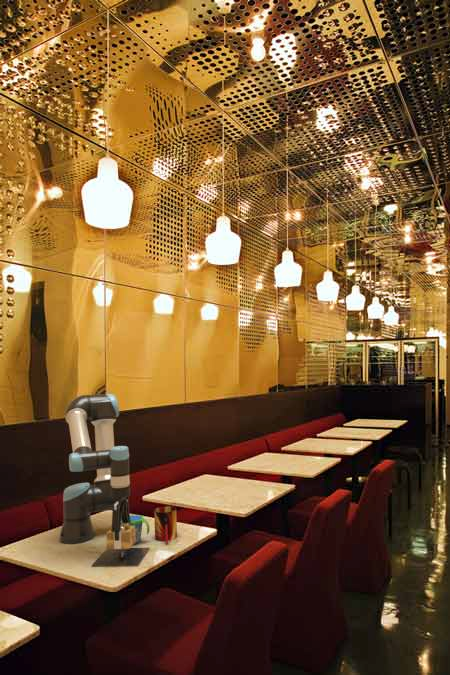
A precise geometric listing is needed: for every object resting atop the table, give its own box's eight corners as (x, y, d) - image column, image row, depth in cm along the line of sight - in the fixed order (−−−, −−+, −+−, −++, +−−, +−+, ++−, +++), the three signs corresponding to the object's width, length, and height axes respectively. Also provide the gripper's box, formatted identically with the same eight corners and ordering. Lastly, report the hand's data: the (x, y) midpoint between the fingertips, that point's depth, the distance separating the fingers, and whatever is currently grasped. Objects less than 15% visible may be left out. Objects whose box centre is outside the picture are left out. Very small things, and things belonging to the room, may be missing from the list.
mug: (166, 545, 197) (165, 516, 198) (151, 537, 208) (150, 509, 209) (186, 540, 202) (185, 511, 203) (170, 532, 213) (169, 505, 215)
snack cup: (109, 546, 199) (108, 521, 200) (120, 538, 209) (119, 514, 210) (143, 547, 195) (143, 522, 196) (153, 538, 206) (152, 515, 207)
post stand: (107, 549, 195) (106, 519, 196) (149, 548, 193) (149, 518, 195) (91, 566, 177) (90, 533, 178) (138, 566, 176) (137, 532, 177)
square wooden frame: (114, 541, 190) (113, 526, 191) (136, 540, 190) (135, 525, 190) (106, 549, 181) (106, 533, 182) (129, 548, 181) (129, 532, 181)
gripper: (119, 480, 199) (120, 535, 197) (101, 492, 177) (103, 554, 175) (136, 480, 198) (138, 535, 196) (121, 492, 177) (122, 554, 174)
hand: (121, 544), depth 186 cm, fingers closed on square wooden frame, 9 cm apart
